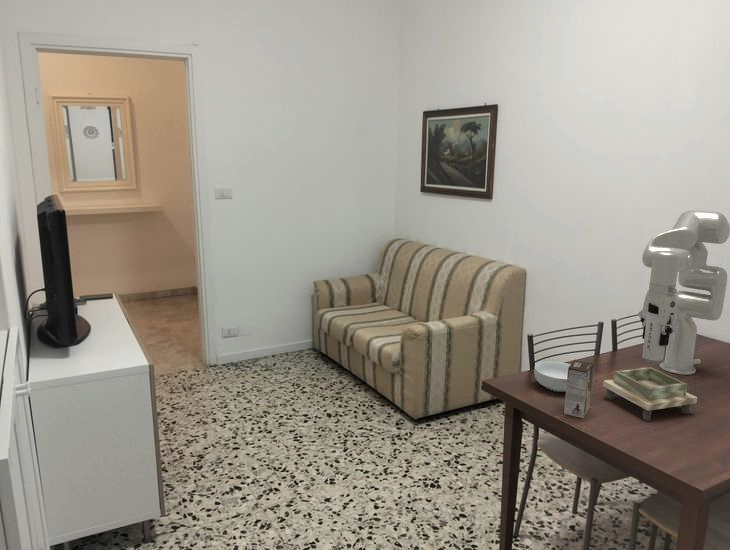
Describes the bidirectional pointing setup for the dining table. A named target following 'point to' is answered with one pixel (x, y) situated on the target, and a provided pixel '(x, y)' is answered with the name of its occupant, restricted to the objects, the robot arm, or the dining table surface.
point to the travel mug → (653, 337)
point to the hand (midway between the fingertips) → (654, 341)
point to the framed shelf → (650, 390)
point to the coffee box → (578, 388)
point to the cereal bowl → (552, 375)
